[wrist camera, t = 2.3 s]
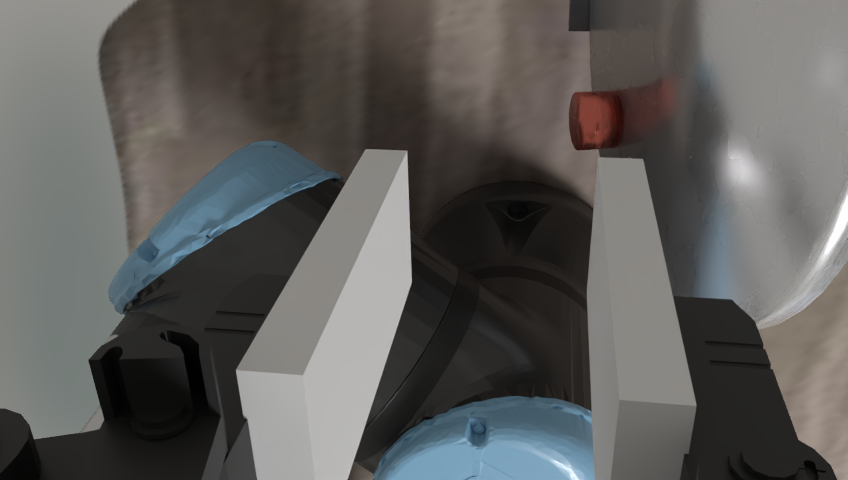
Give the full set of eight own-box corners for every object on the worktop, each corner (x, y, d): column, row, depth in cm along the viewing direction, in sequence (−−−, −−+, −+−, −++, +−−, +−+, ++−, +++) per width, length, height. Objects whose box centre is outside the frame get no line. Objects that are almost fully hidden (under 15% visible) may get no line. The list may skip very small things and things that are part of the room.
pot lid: (600, 183, 41) (545, 187, 40) (640, -294, 31) (569, -293, 31) (812, 467, 23) (716, 477, 23) (1051, -434, 14) (893, -433, 13)
